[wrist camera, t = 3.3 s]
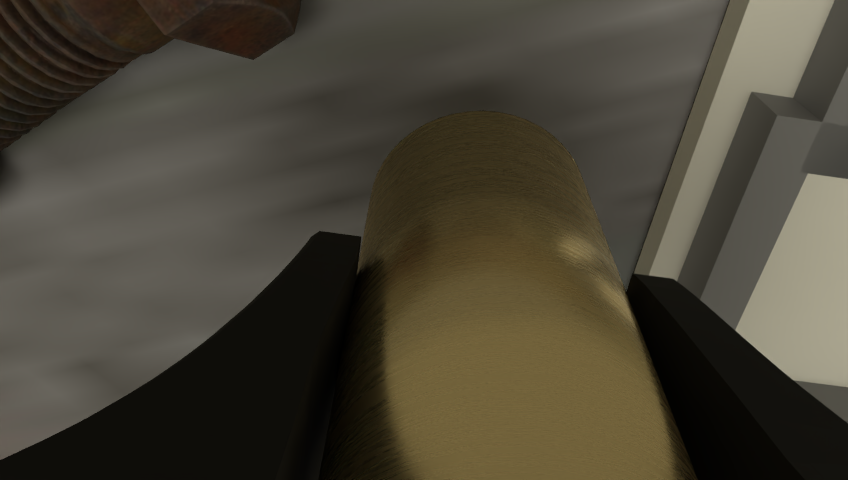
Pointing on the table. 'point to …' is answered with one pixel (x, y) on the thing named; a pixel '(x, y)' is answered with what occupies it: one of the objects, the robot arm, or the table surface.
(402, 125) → the table surface
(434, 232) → the brass peg
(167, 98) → the table surface
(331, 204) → the table surface
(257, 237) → the table surface
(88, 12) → the bolt
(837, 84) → the keyhole plate
